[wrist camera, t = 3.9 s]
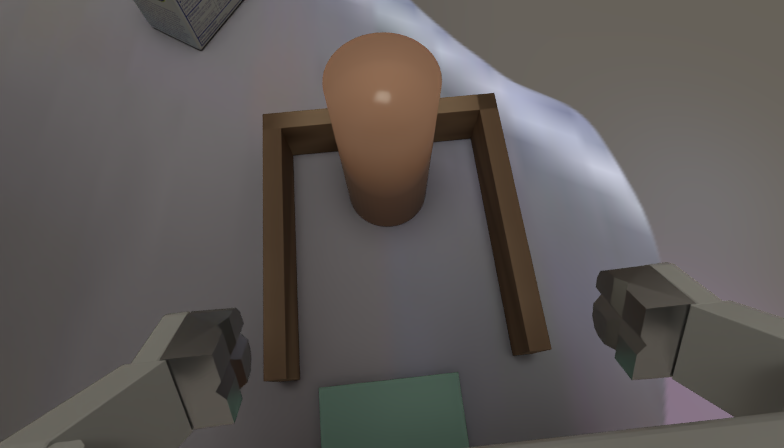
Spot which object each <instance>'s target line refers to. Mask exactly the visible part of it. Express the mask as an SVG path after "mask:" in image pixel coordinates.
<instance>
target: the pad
mask: <svg viewBox="0 0 784 448" xmlns="http://www.w3.org/2000/svg"><path fill="white" fill-rule="evenodd" d="M319 405H320V427H321V448H467V447H469V441H468V435H467V428H466V421H465V415H464V408H463V401H462V395H461V388H460V381H459V375H458V372H455V373H446V374H437V375H428V376H420V377H411V378H402V379H393V380H384V381H375V382H366V383H357V384H348V385H339V386H330V387H322V388H319Z"/></svg>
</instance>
